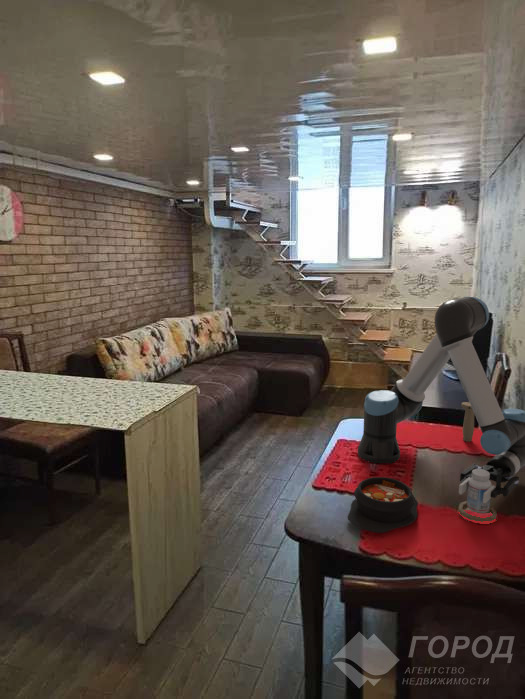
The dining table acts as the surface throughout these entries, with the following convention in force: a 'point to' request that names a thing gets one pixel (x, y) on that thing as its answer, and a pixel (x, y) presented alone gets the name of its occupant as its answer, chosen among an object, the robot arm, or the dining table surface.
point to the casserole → (382, 505)
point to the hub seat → (464, 507)
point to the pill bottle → (478, 491)
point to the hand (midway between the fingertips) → (472, 493)
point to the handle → (468, 422)
